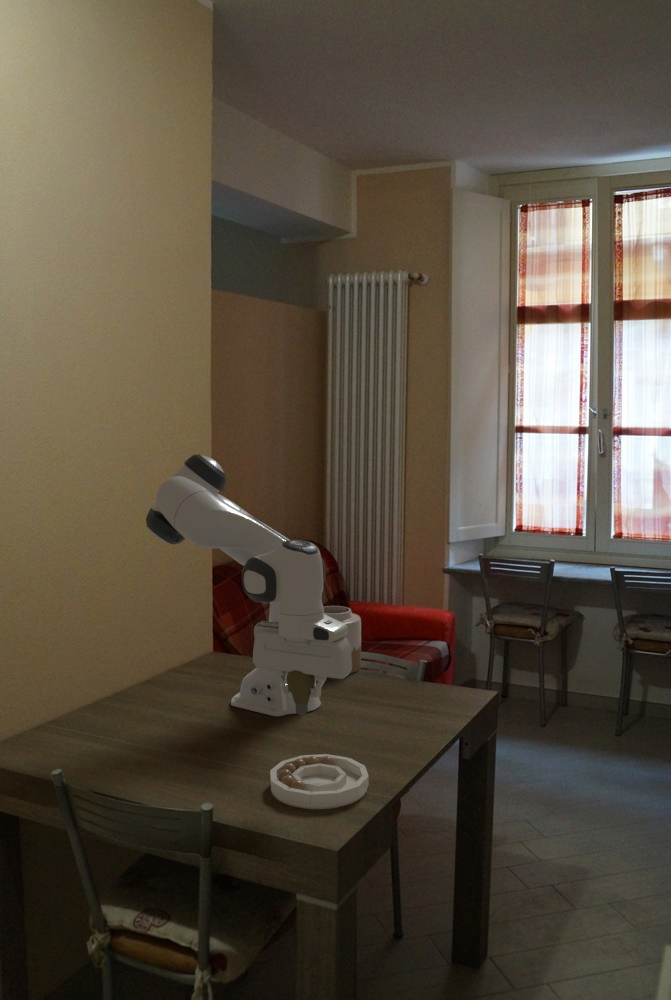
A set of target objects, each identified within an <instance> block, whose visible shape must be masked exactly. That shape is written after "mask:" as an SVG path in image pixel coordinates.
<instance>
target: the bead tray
mask: <svg viewBox="0 0 671 1000" xmlns="http://www.w3.org/2000/svg"><path fill="white" fill-rule="evenodd" d="M269 777H270V778H269V780H270V792H271V795H272V796H273V797H274V798H275V799H276V800H277V801H279V802H281V803H282V804H285V805H287V806H290V807H295V808H300V809H304V810H305V809H307V810H308V809H309V810H330V809H337V808H341V807H342V808H343V807H345V806H349V805H352V804H353V803H356V802H358V801H359V800H361V799H362V798H363V797H364V796H365V795H366V794H367V792H368V787H369V785H370V783H369V781H370V780H369V779H370V778H369V777H370V776H369V773H368V771H367V768H366V765H364V764H362V763H360V762H359V761H357V760H355V759H353V758H350V757H346V756H342V755H333V754H329V753H328V754H327V753H324V754H304V755H298V756H295V757H292V758H288V759H285V760H284V759H283V760H281V761H280V762H279V763H278V764H276V765H275V766H274V767H273V768H271V769H270V770H269Z"/></svg>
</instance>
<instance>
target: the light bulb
mask: <svg viewBox="0 0 671 1000" xmlns="http://www.w3.org/2000/svg"><path fill="white" fill-rule="evenodd" d="M315 679H316V676H315V675H308V674H304V673H302V672H300V671H297V670H294V671H291V672H288V675H287V685H288V688H289V690H290V692H291V693H292V696H293V700H294V702H295V705H296V714H297V715H299V716H301V717H302V716H305V715H306V714H307V713H308V712H309V711H308V701H309V698H310V694H311V688H313V687H314V685H315Z"/></svg>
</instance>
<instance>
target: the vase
mask: <svg viewBox="0 0 671 1000" xmlns="http://www.w3.org/2000/svg"><path fill="white" fill-rule="evenodd" d="M323 608H324V614H326V615H327V616H329V617H331V618H333V619H336V620H338V621H340V622H342V623H344V624H346V625H347V628H348V631H347V634H346V635H344V637H346V638H347V639H348V641H349V643H350V648H351V656H352V670H351V672H350V673H349V674H348V675H350V674H354V673H356V672H358V671H360V670H361V667H362V619H361V616H360V615H358V614H356V613H353V612H352V608H350V607H347V606H341V605H329V606H328V605H326V606H323Z"/></svg>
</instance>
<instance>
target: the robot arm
mask: <svg viewBox="0 0 671 1000" xmlns="http://www.w3.org/2000/svg"><path fill="white" fill-rule="evenodd" d="M183 463H184V465H182V467H181V466H180V467H181V468H178V470H177V471H176V472H175V473H174V474H173V476H172V477H169V478H167V479H166V480H165V481H164V482H162V484H161V485H160V486H159V487H158V490H157V492H156V495H155V496H156V497H155V499H156V501H155V502H154V504H153V506H152V507H150V508H149V511H148V513H147V514H146V517H145V523H146V528H148V530H149V531H150V533H151V534H152V535H153V537H155V538H156V539H157V540H159V541H161V542H163V543H167V544H170V545H178V544H180V543H182V542H184V540H187V541H188V542H190V543H191V544H193V545H195V546H198V547H199V548H204V549H218V550H219V549H220V551H222V552H223V553H224V554H226V555H227V556H229V558H231V559H233V560H235V562H237V563H238V564H240V565H241V566H243V568H242V571H241V584H242V587H243V588H242V589H243V591H244V592H245V595H246V596H247V597H248V598H249V599H250V600H252V601H253V602H255V603H258V604H259V603H261V604H268V603H269V614H268V615H269V616H268V620H261V621H260V622H258V623H256V624H255V625H254V628H253V636H254V643H253V650H252V663H253V664H254V666H255V668H254V669H252V671H250V672H249V673H247V675H245V676H244V677H243V679H242V681H241V684H240V690H239V692H237V693H236V694H234V695H233V697H232V698H231V701H230V705H231V706H232V707H235V708H240V709H244V710H248V711H252V712H256V713H260V714H265V715H268V716H272V717H282V716H286V715H294V714H297V713H296V705H295V702H294V700H293V696H292V693H291V692H290V690H289V688H288V685H287V675H288V672H291V671H294V670H297V671H300V672H302V673H304V674H308V675H315V685H314V687H313V688H311V694H310V698H309V701H308V712H311V711H315V710H317V709H318V708H320V707H321V705H322V703H321V700H320V697H321V696H322V687H323V685H324V684H325V682H326V680H327V678H331V679H339V680H342V679H343V680H344V678H346V677H347V676H348V675H350V674H349V673H350V672H351V670H352V656H351V648H350V643H349V641H348V639H347V638H346V637H344V635H346V634H347V631H348V628H347V625H346V624H344V623H342V622H340V621H338V620H336V619H333V618H331V617H329V616H327V615H326V614H324V608H323V607H324V605H323V602H322V601H323V600H322V595H323V591H324V583H325V580H326V574H327V573H326V572H327V569H326V563H325V561H324V559H323V558H322V554H321V552H320V549H319V547H318V546H317V545H316V544H315V543H313V542H311V541H308V540H301V539H289V538H288V537H287V536H285V535H283V534H282V533H280V532H278V531H277V530H275V529H273V528H272V527H271V526H269V525H268V524H265V523H264V522H262V521H260V520H259V519H258V518H256V517H255V516H253V515H252V514H250V513H248V511H246V510H245V509H243V508H242V507H241V506H239V505H238V504H236V502H233V501H232V500H230V499H228V498H227V497H225V496H224V495H221V494H219V493H220V492H224V493H225V492H226V488H225V485H226V483H227V475H226V472H225V471H224V470H223V468H222V466H221V465H220V464H219V463H218V462H217V461H216V460H215V459H214V458H211V457H209V456H206V455H202V454H200V453H199V454H198V453H197V454H193V455H192V456H190V457H188V459H186V460H185V461H184V462H183Z"/></svg>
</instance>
